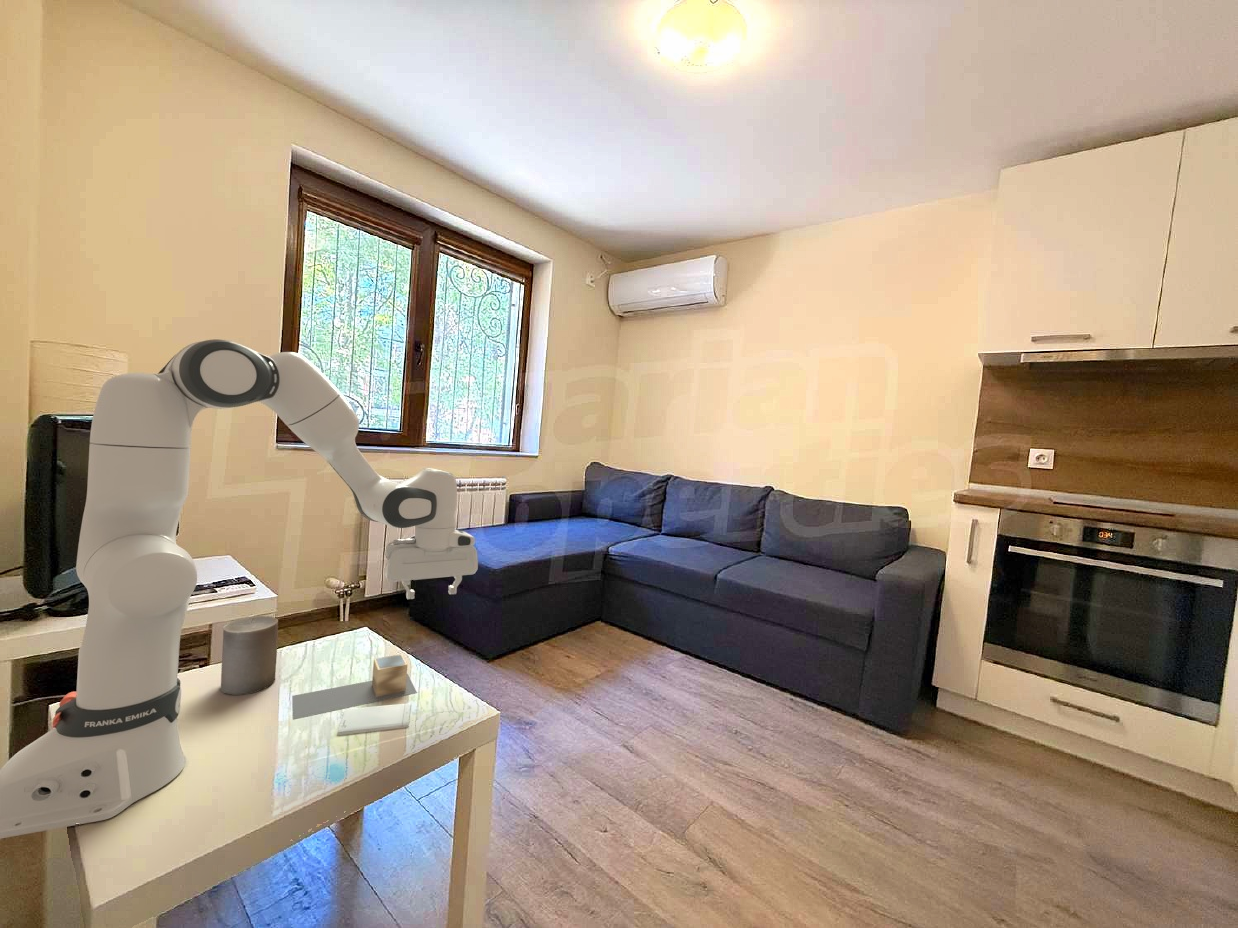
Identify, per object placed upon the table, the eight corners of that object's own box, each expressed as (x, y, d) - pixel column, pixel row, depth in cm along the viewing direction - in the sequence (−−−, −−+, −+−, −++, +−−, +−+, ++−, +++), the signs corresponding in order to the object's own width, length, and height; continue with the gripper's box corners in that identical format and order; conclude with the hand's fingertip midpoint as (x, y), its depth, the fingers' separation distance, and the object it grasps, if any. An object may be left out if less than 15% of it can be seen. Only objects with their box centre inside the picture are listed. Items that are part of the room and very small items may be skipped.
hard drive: (336, 731, 89) (408, 723, 93) (345, 707, 97) (411, 701, 101) (336, 740, 89) (408, 731, 94) (344, 715, 97) (410, 708, 101)
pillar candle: (276, 670, 111) (279, 607, 111) (274, 689, 103) (277, 621, 103) (223, 679, 106) (226, 613, 106) (216, 700, 98) (219, 628, 97)
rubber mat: (292, 720, 93) (292, 719, 93) (292, 696, 101) (292, 695, 101) (416, 693, 106) (417, 692, 106) (407, 674, 114) (407, 673, 114)
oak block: (376, 696, 103) (378, 669, 103) (372, 684, 108) (373, 658, 108) (405, 690, 107) (407, 664, 107) (400, 679, 112) (402, 653, 111)
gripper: (388, 543, 102) (385, 605, 103) (481, 538, 114) (478, 594, 114) (384, 537, 107) (380, 597, 108) (473, 533, 119) (470, 587, 120)
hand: (431, 595), depth 111 cm, fingers open, 8 cm apart
